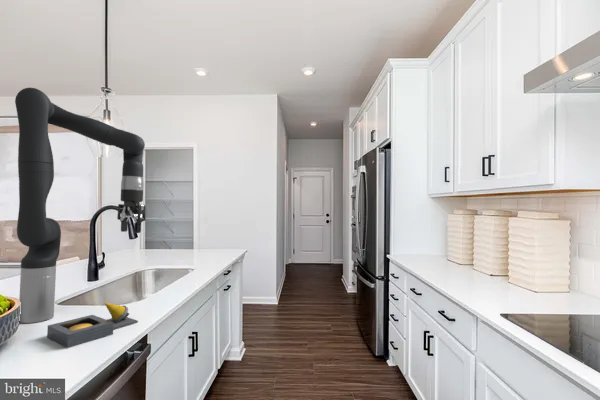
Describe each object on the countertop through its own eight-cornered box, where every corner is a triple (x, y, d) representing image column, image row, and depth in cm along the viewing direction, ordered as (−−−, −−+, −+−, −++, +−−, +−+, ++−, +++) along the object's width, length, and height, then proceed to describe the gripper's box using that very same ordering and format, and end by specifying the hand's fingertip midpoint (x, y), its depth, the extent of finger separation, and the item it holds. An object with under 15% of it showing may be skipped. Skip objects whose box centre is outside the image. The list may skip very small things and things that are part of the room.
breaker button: (65, 336, 96) (65, 327, 96) (86, 330, 100) (86, 322, 100) (74, 340, 93) (75, 331, 93) (95, 334, 97) (96, 326, 97)
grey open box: (47, 337, 94) (47, 325, 95) (91, 325, 105) (92, 314, 105) (67, 348, 88) (67, 334, 88) (112, 334, 98) (113, 322, 98)
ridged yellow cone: (131, 323, 108) (108, 306, 102) (118, 328, 108) (94, 312, 103) (136, 309, 112) (114, 292, 106) (123, 314, 113) (100, 298, 107)
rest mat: (94, 324, 106) (94, 322, 106) (122, 317, 113) (122, 315, 113) (109, 330, 101) (110, 328, 101) (137, 322, 109) (137, 320, 109)
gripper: (111, 188, 126) (110, 231, 125) (133, 188, 118) (132, 233, 118) (130, 189, 132) (129, 230, 132) (152, 189, 124) (151, 232, 124)
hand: (130, 232), depth 125 cm, fingers open, 8 cm apart
